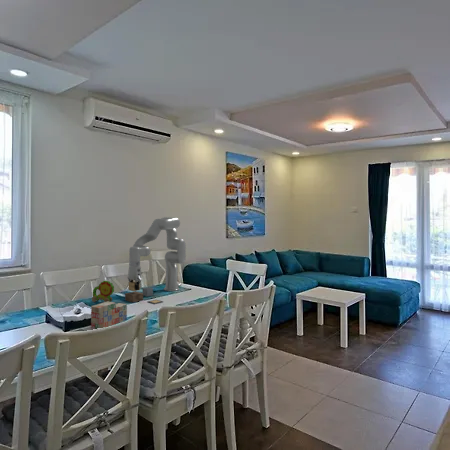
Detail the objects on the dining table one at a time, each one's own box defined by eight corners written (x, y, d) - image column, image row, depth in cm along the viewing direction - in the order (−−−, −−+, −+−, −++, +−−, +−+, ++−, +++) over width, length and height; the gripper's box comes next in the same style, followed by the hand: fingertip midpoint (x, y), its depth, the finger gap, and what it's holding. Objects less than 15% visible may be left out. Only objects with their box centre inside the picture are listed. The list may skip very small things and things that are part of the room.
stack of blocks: (119, 318, 216) (119, 297, 216) (126, 319, 213) (127, 299, 213) (90, 328, 197) (90, 305, 197) (99, 330, 194) (99, 307, 194)
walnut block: (135, 298, 265) (135, 291, 265) (143, 300, 260) (143, 293, 259) (125, 300, 258) (125, 293, 258) (132, 302, 253) (132, 295, 253)
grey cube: (148, 294, 278) (148, 287, 278) (152, 295, 275) (152, 288, 275) (142, 295, 274) (142, 288, 274) (147, 296, 271) (147, 289, 270)
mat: (156, 300, 261) (156, 299, 261) (163, 302, 255) (163, 301, 255) (147, 302, 254) (147, 301, 254) (154, 304, 249) (154, 303, 249)
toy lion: (91, 301, 252) (91, 280, 251) (95, 300, 257) (96, 279, 256) (110, 304, 247) (111, 282, 247) (115, 302, 253) (115, 280, 252)
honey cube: (135, 288, 262) (135, 281, 262) (139, 289, 259) (139, 282, 259) (128, 289, 258) (128, 282, 258) (133, 291, 255) (133, 283, 255)
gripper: (146, 264, 255) (145, 290, 256) (131, 262, 266) (131, 286, 267) (137, 265, 250) (137, 291, 250) (123, 263, 261) (122, 288, 261)
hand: (134, 288), depth 259 cm, fingers closed on honey cube, 5 cm apart
